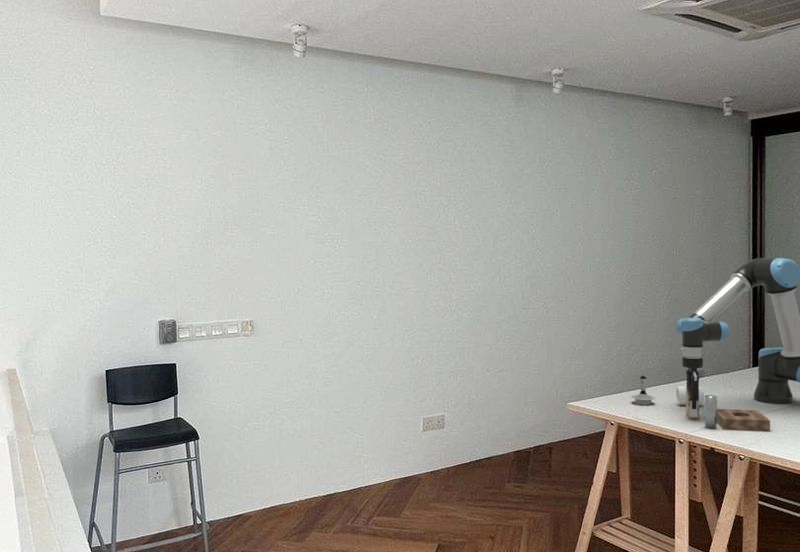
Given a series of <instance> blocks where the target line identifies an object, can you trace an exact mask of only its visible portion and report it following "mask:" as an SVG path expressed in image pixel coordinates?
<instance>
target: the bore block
mask: <svg viewBox="0 0 800 552" xmlns="http://www.w3.org/2000/svg"><path fill="white" fill-rule="evenodd" d="M716 424H718V426H719V427H720V428H721V429H722V430H726V431H727V430H731V431H735V430H736V431H753V432H754V431H755V432H771V420H770V419H769V418H768V417H767V416H765V415H764V414H763V413H762V412H761V411H760V410H758V409H757V410H755V409H752V410H751V409H730V408H729V409H726V408H725V409H724V408H717V420H716Z"/></svg>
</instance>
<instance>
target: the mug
mask: <svg viewBox="0 0 800 552" xmlns="http://www.w3.org/2000/svg"><path fill="white" fill-rule="evenodd" d="M686 387H687V385H686V386H681V385H680V386H677V387H676V389H675V399H676V404H677V405H678V406H686ZM703 405H705V391H704V388H703V387H702V386H699V407H700V406H701V407H702V406H703Z"/></svg>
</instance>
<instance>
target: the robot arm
mask: <svg viewBox="0 0 800 552" xmlns="http://www.w3.org/2000/svg"><path fill="white" fill-rule="evenodd" d="M799 283H800V267H799V265H798V264H797V262H795V261H794V260H793V259H790V258H784V257H766V258H765V257H759V258H755V259H754V258H753V259H751V260H750V261H747V262H746V263H744V264H743V265H741V266H740V267H739V268H737V269H736V270H734V272H733V273H732V274H731V275H730V279H729V280H728V281H726V282H725V283H724V284H723V285H722V286H721V287H720V288H719V289H717V291H716V292H714V293H713V294H712V295H711V296H710V297H709V298H708V299H707V300H705V302H704V303H703V304H702V305H701V306H700V307H698V308H697V309H696V310H695V311H694V312H693V313H692V314H691V315H690V316H688V317H682V318H680V319H679V320H678V321H677V322H676V326H675V327H676V331H677V333H678V334H679V335H681V336H682V338H681V339H682V342H681V344H682V347H681V348H680V351H681V352H682V356H683V357H682V359H681V360H682V361H681V363H682V364H681V365H682V367H684V368H687V370H686V371H685V373H686V374H685V375H686V387H690V397H691V399H689V401H690V417H697V401H698V400H699V387H700V385H699V383H700V374H699V372H698V369H701V368H703V367H704V359H703V357H704V342H715V341H718V342H720V341H725V340H727V339H728V337H730V336H729V335H730V327H729V325H728V324H727V323H726V322H724V321H714V320H715V319H716V318H717V317H718V316H719V315H721V314H722V313H723V312H724V311H725V310H726V309H727V308H728V307H730V306H731V305H732V304H733V302H735V301H736V300H737V299H738V298H740V297H741V295H742V294H744V292H749V291H750V290H752V289H753V288H755V287H757V286H764V289H765V293H766V295H769V296H770V298H771V302H772V306H773V310H774V314H775V318H776V323H777V326H778V327H777V328H778V330H779V334H780V339H781V343H782V347H766V348H765V347H763V348H761V349H760V350H759V351H758V357H757V359H758V367H757V369H758V370H757V371H758V382H757V385H756V387H755V390H754V392H753V399H754V400H755V401H759V402H761V403H770V404H789V403H793V402H794V396H793V392H792V390H791V387H790V383H789V381H793V382H797V383H800V312H799V307H798V304H797V299H796V295H795V291H796V290H797V289H798V286H797V285H799Z"/></svg>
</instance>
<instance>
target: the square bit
mask: <svg viewBox="0 0 800 552" xmlns="http://www.w3.org/2000/svg"><path fill="white" fill-rule="evenodd" d="M689 399H691V397H690V387H687V386H686V405H685V409H686V411H685V412H686V413H685V417H686V418H687V420H697V419H700V406H699V400H698V401H697V417H690V401H689Z"/></svg>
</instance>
